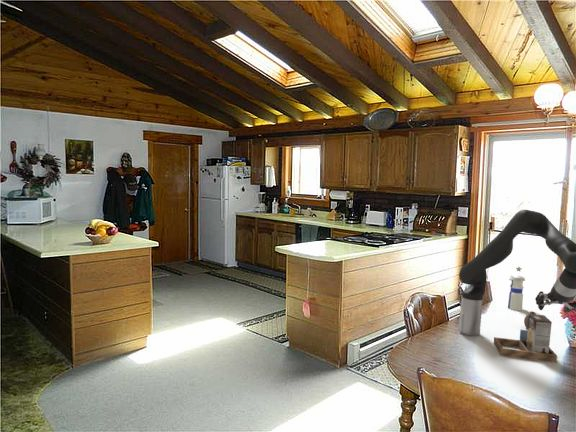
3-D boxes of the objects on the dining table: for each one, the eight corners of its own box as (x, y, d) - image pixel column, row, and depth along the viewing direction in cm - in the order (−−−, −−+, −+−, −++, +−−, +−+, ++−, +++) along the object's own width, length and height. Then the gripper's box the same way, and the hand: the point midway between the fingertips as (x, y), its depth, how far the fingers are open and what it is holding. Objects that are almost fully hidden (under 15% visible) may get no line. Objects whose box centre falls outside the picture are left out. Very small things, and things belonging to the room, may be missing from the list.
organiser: (500, 355, 177) (502, 337, 177) (493, 343, 191) (494, 326, 190) (556, 362, 172) (558, 343, 171) (545, 349, 185) (546, 332, 185)
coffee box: (524, 348, 185) (528, 313, 183) (540, 350, 183) (544, 315, 182) (532, 357, 176) (535, 320, 175) (549, 359, 174) (552, 321, 173)
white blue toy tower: (504, 306, 253) (507, 265, 251) (519, 307, 252) (522, 266, 250) (509, 310, 245) (512, 268, 243) (525, 311, 244) (528, 269, 242)
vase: (533, 332, 208) (535, 314, 208) (520, 327, 215) (522, 310, 214) (542, 330, 212) (543, 313, 211) (528, 325, 218) (530, 309, 217)
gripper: (586, 280, 154) (570, 303, 166) (542, 277, 157) (530, 299, 169) (591, 298, 149) (575, 320, 161) (546, 294, 152) (533, 315, 164)
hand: (552, 309), depth 165 cm, fingers open, 8 cm apart
